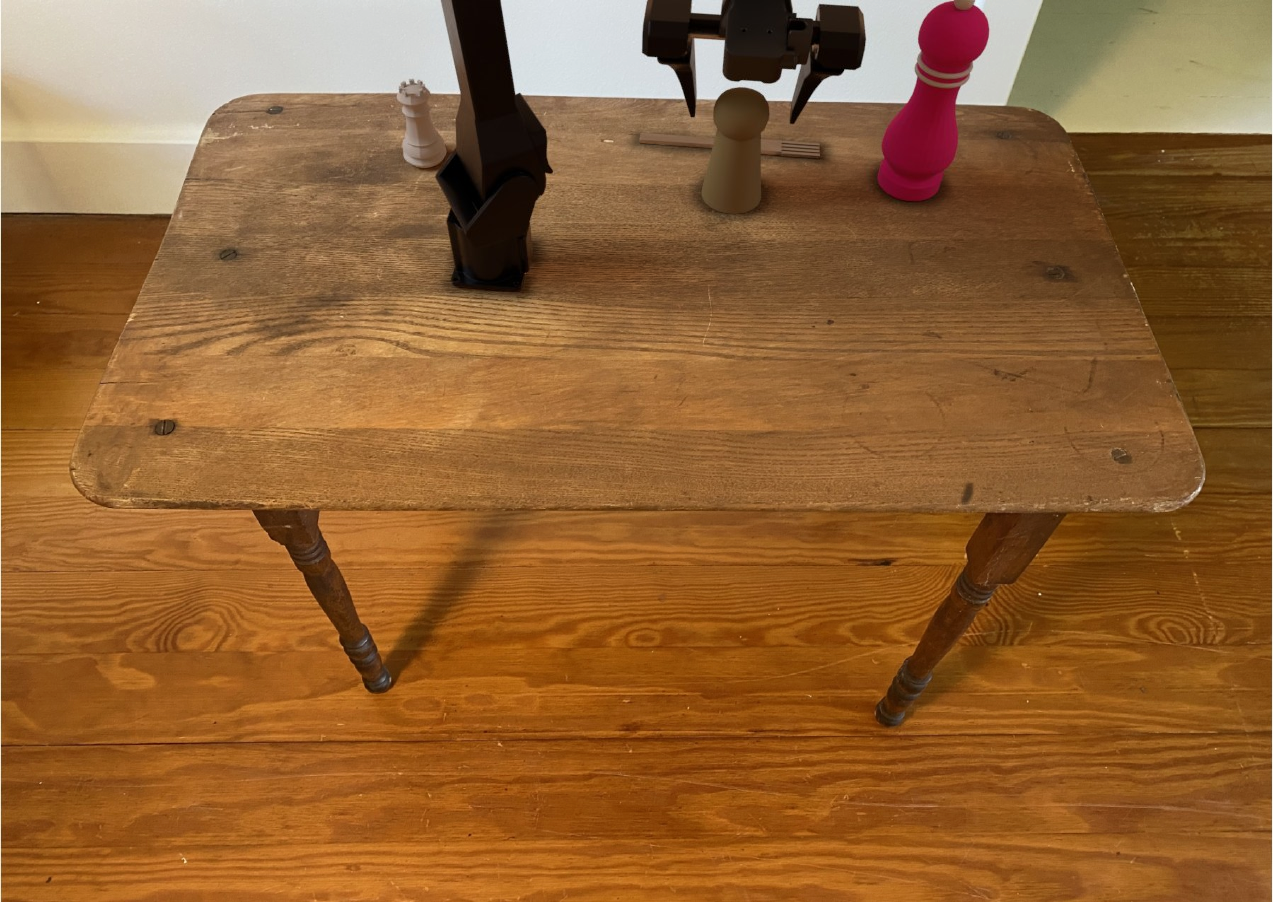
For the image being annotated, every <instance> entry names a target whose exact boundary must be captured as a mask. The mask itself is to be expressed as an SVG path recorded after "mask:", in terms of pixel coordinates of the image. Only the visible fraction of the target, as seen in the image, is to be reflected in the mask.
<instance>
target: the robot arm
mask: <svg viewBox="0 0 1273 902" xmlns="http://www.w3.org/2000/svg"><path fill="white" fill-rule="evenodd" d="M721 1H722V2H721V7H720V14H719V13H703V12H702V13H701V12H692V7H693V0H646V4H645V11H644V16H643V24H642V32H641V33H642V34H641V36H642V37H641V53H642V54H643V55H644V56H646V57H648V58H656V61H657V63H658V64H660V65H662V66H669V68H671V70H673V71H674V74H675V76H676V77H677V79H678V81H679V84H680V87H681V91H682V94H683V97H684V99H685V104H686V106H687V110H688V113H689V116H690V118H695V117H696V110H697V99H698V97H697V95H698V91H697V89H698V88H697V67H696V48H695V47H696V45H695V40H696V39H698V40H700V39H701V40H712V41H713V40H714V41H724V43H723V44H724V45H723V57H722V59H723V60H722V68H721V69H722V71H721V73H722V75H723V77H724V79H726V80H727V81H729V82H735V83H736V82H737V83H739V82H741V81H745V82H761V83H762V84H765V85H766V84H767V85H770V84H771V85H772V84H775V83H777V82H778V81H779V80H780V79H781V77H782V73H783V70H793V71H796V70H797V66H799V65H800V68H799V72H798V75H797V79H796V84H795V88H794V90H793V95H792V98H791V105H790V113H789V124H790V125H795V123H796V122H797V120H798V119H799V117H800V115H801V114H802V112H803V110H804V108H805V107H806V105H807V104H808V102H809V100H810V99H811V97H812V95H813V94H814V92H815V91H816V89H817V88H818V87H819V86H820V84H821V83H822V82H823V81H825V80H826V79H828V78H830V77H840V76H842V75H843V74H844V72H845V71H847V70H848V71H856V70H858V69H860V68H861V67H862V64H863V59H864V55H865V51H866V44H867V35H866V25H865V15H864V12H863V11H862V10H861V8H860V7H859V5H846V4H845V5H844V4H843V5H842V4H827V3H818V6H817V8H816V13H815V17H814V19H813V18H810V17H809V18H808V17H798V16H797V15H798V13H797V12H794V7H793V2H792V0H721ZM440 3H441V8H442V9H441V10H442V13H443V18H444V23H445V27H446V31H447V32H446V33H447V38H448V41H449V46H450V51H451V55H452V61H453V65H454V69H455V74H456V79H457V83H458V88H459V93H460V94H459V95H460V101H459V105H458V107H457V108H458V109H457V113H456V116H455V149H454V150H453V151H452V152H451V154H450V155H449V156H448V158H446V160H445V162H444V163H443V164H442V166H441V167H440V168H439V169H438V171H437V172H436V173H435V176H434V178H435V180H436V182H437V184H438V186H439V187H440V189H441V192H442V193H443V195H444V197H445V198H446V201H447V202H448V204H449V206H450V209H449V211H448V215H447V217H446V221H445V222H446V228H447V232H448V237H449V243H450V248H451V249H450V250H451V253H452V259H453V263H454V268H453V271H452V275H451V278H450V283H451V286H453V287H456V288H467V289H468V288H469V289H480V290H481V289H482V290H493V291H494V290H496V291H506V292H507V291H508V292H519V291H521V290H522V288H523V285H524V280H525V277H526V274H528V273H529V272H530V270H531V265H532V261H533V256H534V249H533V237H532V228H531V219H532V216H533V212H534V209H535V206H536V202H537V201H538V200H539V198H540V197H541V196H543V195H544V194H545V191H546V189H547V175H546V174H549V175H551V174H553V173H554V169H553V168H552V167H551V165H550V163H549V160H548V134H547V129H546V128H545V127H544V125H543V124H542V122H541V121H540V119H539V118H538V117H537V115H536V113H535V112H534V111H533V109H532V108H531V106H530V105H529V103H528V102H527V100H526V98H525V97H524V96H523V94H522V93H521V92H518V93H516V88H515V82H514V77H513V70H512V64H511V63H512V62H511V57H510V51H509V50H510V49H509V45H508V38H507V37H508V36H507V31H506V26H505V19H504V13H503V7H502V1H501V0H440Z"/></svg>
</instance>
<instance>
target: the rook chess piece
mask: <svg viewBox="0 0 1273 902" xmlns="http://www.w3.org/2000/svg"><path fill="white" fill-rule="evenodd" d="M408 82H409V83H407V82H406V81H405V80H403V81H401V82H400V85H398V92H397V94H396V99H397V101H398V102H399V103H400V104H402V108H401V112H402V114H403V115H404V117H405V124H406V129H405V130H406V131H405V134H404V139H403V140H402V144H401V145H402V151H403V152H402V153H403V158H404V160H405V161H406V162H407V163H408V164H410V165H411V166H413V167H416V168H421V169H426V168H427V169H428V168H432V167H435V166H438V165H439V164H440V163H442V162H443V160H444V158H445V157H446V155H447V147H446V145H445V139H444V137H443V136H442V135H441V134H440V133H439V131H438V130H437V129H436V128H435V126H434V123H433V120H432V117H431V114H430V111H431V110H432V109H431V108H432V107H431V105H430V103H428V101H429V99H430V97H431V91H430V90H429V88H427V87H426V84H425V83H424V82H423V80H421V79H417V81H416V82H415V79H414V78H409V79H408Z"/></svg>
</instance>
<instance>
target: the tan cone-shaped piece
mask: <svg viewBox="0 0 1273 902" xmlns="http://www.w3.org/2000/svg"><path fill="white" fill-rule="evenodd" d="M712 114H713V117H712V119H713V123H714V126H715V128H716V132H715V136H714V138H715V140H714V144H713V148H711V152H710V156H709V160H708V164H707V168H706V171H705V176H704V180H703V184H702V187H701V198H702V200H703V202H704V203H705V204H706V205H707V206H708V207H709V208H711V209H713V210H715V211H717V212H720V213H723V214H727V215H728V214H729V215H739V214H744V213H747V212H750V211H752V210H754V209H755V208H756V207H757V206H759V204H760V202H761V200H762V154H761V139H762V133H763V132H764V131H765V129H766V126H767V125H768V123H769V120H770V104H769V102H768V100H767V98H766V97H765V95H764V94H763V93H762V92H760V91H758V90H756V89H755V88H750V87H746V86H744V87H743V86H737V87H731V88H729V89H726V90H725V91H723V92H722V93H720V94H719V96H718V97H717V99H716V100H715V103H714V105H713V113H712Z"/></svg>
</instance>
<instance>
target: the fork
mask: <svg viewBox="0 0 1273 902" xmlns="http://www.w3.org/2000/svg"><path fill="white" fill-rule="evenodd" d="M714 140H715V137H708V136H693V135H692V136H691V135H681V134H679V135H678V134H667V133H666V134H664V133H651V132H650V133H649V132H640V135H639V144H647V145H661V146H673V147H675V146H676V147H691V148H702V149H703V148H704V149H705V148H706V149H712V148H713V144H714ZM761 155H770V156H781V157H789V158H803V159H815V160H816V159H817V160H820V156H821V153H820V142H809V141H808V142H807V141H796V140H795V141H793V140H781V139H767V138H761Z"/></svg>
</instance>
